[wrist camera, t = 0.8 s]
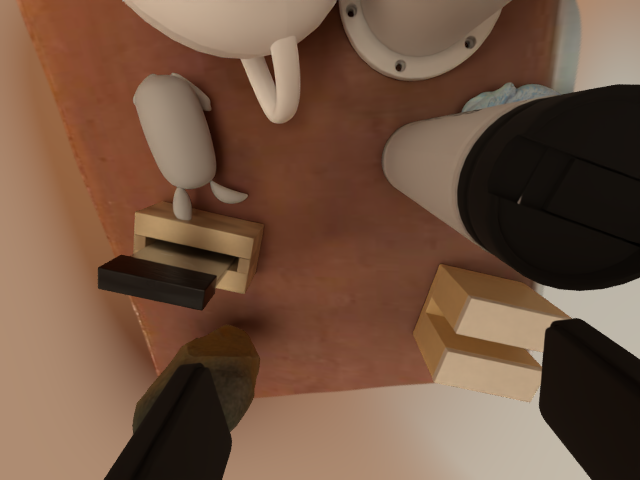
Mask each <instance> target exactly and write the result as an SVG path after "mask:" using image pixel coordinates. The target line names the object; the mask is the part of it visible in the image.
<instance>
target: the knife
mask: <svg viewBox="0 0 640 480" xmlns="http://www.w3.org/2000/svg"><path fill="white" fill-rule="evenodd" d="M237 258H238V257H236V256H232V255H227V254H223V253H218V252H214V251H209V250H205V249H200V248H196V247H191V246H187V245H182V244H178V243H173V242H169V241H164V240H160V239H158V240H156V241H155V242H153V243H151V244H149V245H148V246H146V247H144V248H143V249H141V250H139V251H138V252H136V253H134V254H133V255H131V256H125V255H120V256H118V257H116V258H114V259H113V260H111V261H109V262H107V263H105V264H104V265H102V266H100V267H98V288H99V289H102V290H107V291H112V292H116V293H122V294H126V295H130V296H135V297H140V298H145V299H149V300H154V301H159V302H164V303H168V304H173V305H178V306H183V307H187V308H192V309H197V310H203V309H204V308H205V306H206V305H207V303H208V302H209V301H210V299H211V298H212V297H213V295H214V294H215V287H216V286H217V285H218V283H219V282H220V281H221V279H222V278H223V277H224V275H225V274H226V273H227V271H228V270H229V269H230V267H231V266H232V265H233V263H234V262H235V261H236V259H237Z"/></svg>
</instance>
